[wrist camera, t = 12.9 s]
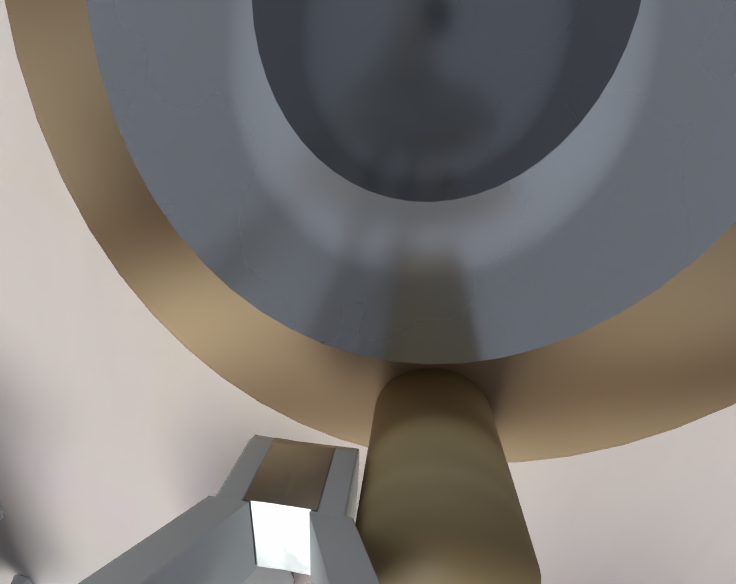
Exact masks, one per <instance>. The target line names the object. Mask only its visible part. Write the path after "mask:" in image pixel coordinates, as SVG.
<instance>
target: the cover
mask: <svg viewBox="0 0 736 584" xmlns="http://www.w3.org/2000/svg"><path fill="white" fill-rule="evenodd" d="M86 3H87V12H88V20H89V25H90V30H91V34H92V39H93V44H94V48H95V53H96V57H97V62H98V67H99V71H100V75H101V78H102V81H103V84H104V87H105V90H106V93H107V97H108V100H109V103H110V106H111V109H112V112H113V115H114V118H115V121H116V123H117V126H118V128H119V130H120V133H121V135H122V137H123V140H124V142H125V144H126V146H127V149H128V151H129V153H130V156H131V158H132V160H133V162H134V164H135V166H136V168H137V170H138V171H139V173H140V175H141V177H142V179H143V180H144V182H145V184H146V186H147V188H148V189H149V191H150V193H151V195H152V197H153V198H154V200H155V202H156V203H157V205H158V206H159V207H160V209H161V210H162V212H163V213H164V215H165V216H166V217H167V219H168V220H169V222H170V223H171V225H172V226H173V227H174V229H175V230H176V232H177V233H178V234H179V236H180V237H181V238H182V239H183V240H184V241H185V243H186V244H187V245H188V246H189V247H190V248H191V250H192V251H193V252H194V253H195V254H196V255H197V256H198V258H199V259H200V260H201V261H202V262H203V263H204V264H205V265H206V266H207V267H208V268H209V269H210V270H211V271H212V272H213V273H214V274H215V275H216V276H217V277H219V278H220V279H221V280H222V281H223V282H224V283H225V284H226V285H227V286H228V287H229V288H230V289H231V290H233V291H234V292H235V293H237V294H238V295H239V296H241V297H242V298H243V299H245V300H246V301H247V302H249V303H250V304H251V305H253V306H254V307H255V308H257V309H258V310H259V311H261V312H262V313H264V314H266V315H268V316H269V317H271V318H273V319H274V320H276V321H278V322H279V323H281V324H283V325H285V326H286V327H288V328H290V329H291V330H294V331H296V332H298V333H300V334H302V335H305V336H307V337H309V338H311V339H314V340H316V341H318V342H320V343H323V344H325V345H329V346H332V347H335V348H338V349H341V350H344V351H347V352H351V353H354V354H357V355H362V356H367V357H372V358H377V359H382V360H387V361H394V362H406V363H418V364H452V363H468V362H475V361H483V360H490V359H497V358H503V357H507V356H511V355H515V354H518V353H522V352H526V351H530V350H534V349H538V348H541V347H544V346H547V345H550V344H552V343H555V342H558V341H560V340H563V339H566V338H568V337H571V336H574V335H576V334H579V333H581V332H583V331H585V330H587V329H589V328H591V327H593V326H595V325H597V324H599V323H601V322H603V321H605V320H607V319H609V318H611V317H613V316H615V315H617V314H619V313H621V312H623V311H624V310H626V309H627V308H629V307H630V306H632V305H634V304H635V303H637V302H638V301H640V300H642V299H643V298H645V297H646V296H648V295H649V294H651V293H653V292H654V291H656V290H657V289H659V288H660V287H662V286H663V285H664V284H665V283H667V282H668V281H669V280H670V279H672V278H673V277H674V276H676V275H677V274H678V273H679V272H681V271H682V270H683V269H684V268H686V267H687V266H688V265H690V264H691V263H692V262H693V261H695V260H696V259H697V258H698V257H700V256H701V255H702V254H703V253H704V252H705V251H706V250H707V249H708V248H709V247H710V246H711V245H712V244H713V243H714V242H715V241H716V240H717V239H718V238H719V237H721V236H722V235H723V234H724V233H725V232H726V231H727V230H728V229H729V228H730V227H731V226H732V225H733V224H734V223H735V222H736V0H86Z"/></svg>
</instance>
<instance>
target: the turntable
mask: <svg viewBox="0 0 736 584" xmlns="http://www.w3.org/2000/svg"><path fill="white" fill-rule="evenodd" d="M5 4H6V8H7V13H8V18H9V22H10V27H11V31H12V36H13V40H14V45H15V50H16V54H17V58H18V61H19V64H20V67H21V70H22V73H23V77H24V80H25V83H26V86H27V89H28V92H29V96H30V99H31V102H32V105H33V108H34V111H35V114H36V118H37V121H38V123H39V125H40V128H41V130H42V132H43V135H44V137H45V140H46V142H47V144H48V147H49V149H50V151H51V154H52V156H53V159H54V161H55V163H56V166H57V168H58V170H59V173H60V175H61V177H62V179H63V181H64V183H65V185H66V187H67V189H68V191H69V192H70V194H71V196H72V198H73V200H74V202H75V204H76V205H77V207H78V209H79V211H80V213H81V215H82V217H83V218H84V220H85V222H86V224H87V226H88V228H89V230H90V231H91V233H92V234H93V235H94V237H95V238H96V240H97V241H98V243H99V244H100V246H101V247H102V249H103V250H104V252H105V253H106V255H107V256H108V258H109V259H110V261H111V262H112V264H113V265H114V267H115V268H116V270H117V271H118V273H119V274H120V276H121V277H122V278H123V279H124V280H125V282H126V283H127V284H128V285H129V287H130V288H131V289H132V290H133V291H134V293H135V294H136V295H137V296H138V297H139V299H140V300H141V301H142V302H143V304H144V305H145V306H146V307H147V308H148V310H149V311H150V312H151V313H152V314H153V315H154V316H155V317H156V318H157V319H158V320H159V321H160V322H161V323H162V324H163V325H164V326H165V327H166V328H167V329H168V330H169V331H170V332H171V333H172V334H173V335H174V336H175V337H176V338H177V339H178V340H179V341H180V342H181V343H182V344H183V345H184V346H185V347H186V348H187V349H188V350H189V351H190V352H192V353H193V354H194V355H195V356H197V357H198V358H199V359H200V360H201V361H203V362H204V363H205V364H206V365H208V366H209V367H210V368H211V369H212V370H214V371H215V372H216V373H217V374H219V375H220V376H221V377H222V378H224V379H225V380H227V381H228V382H230V383H231V384H233V385H234V386H236V387H237V388H239V389H240V390H242V391H244V392H245V393H247V394H248V395H250V396H251V397H253V398H254V399H256V400H257V401H259V402H260V403H262V404H264V405H266V406H268V407H270V408H272V409H274V410H276V411H277V412H279V413H281V414H283V415H285V416H287V417H289V418H291V419H293V420H295V421H297V422H298V423H301V424H303V425H306V426H308V427H311V428H313V429H316V430H318V431H321V432H323V433H326V434H328V435H331V436H333V437H336V438H338V439H341V440H345V441H348V442H352V443H355V444H359V445H362V446H366V447H368V452H367V458H366V464H365V470H364V476H363V482H362V488H361V494H360V500H359V506H358V512H357V518H356V524H355V525H356V527H357V530H358V532H359V535H360V537H361V539H362V542H363V544H364V547H365V549H366V552H367V554H368V556H369V559H370V561H371V564H372V566H373V569H374V571H375V573H376V576H377V578H378V581H379V583H380V584H541V573H540V568H539V565H538V562H537V558H536V555H535V552H534V548H533V545H532V542H531V539H530V535H529V532H528V529H527V526H526V522H525V519H524V516H523V513H522V509H521V506H520V503H519V500H518V496H517V493H516V490H515V486H514V483H513V480H512V477H511V473H510V470H509V467H508V464H507V462H525V461H534V460H542V459H551V458H560V457H568V456H574V455H578V454H583V453H588V452H593V451H597V450H602V449H607V448H611V447H616V446H621V445H624V444H628V443H631V442H634V441H637V440H640V439H644V438H647V437H650V436H653V435H656V434H660V433H663V432H666V431H669V430H672V429H676V428H678V427H681V426H683V425H685V424H688V423H690V422H693V421H695V420H697V419H700V418H702V417H705V416H707V415H709V414H712V413H714V412H717V411H719V410H721V409H724V408H726V407H729V406H731V405H733V404H735V403H736V222H735V223H734V224H733V225H732V226H731V227H730V228H729V229H728V230H727V231H726V232H725V233H724V234H723V235H722V236H721V237H719V238H718V239H717V240H716V241H715V242H714V243H713V244H712V245H711V246H710V247H709V248H708V249H707V250H706V251H705V252H704V253H703V254H702V255H701V256H700V257H698V258H697V259H696V260H695V261H693V262H692V263H691V264H690V265H688V266H687V267H686V268H684V269H683V270H682V271H681V272H679V273H678V274H677V275H676V276H674V277H673V278H672V279H670V280H669V281H668V282H667V283H665V284H664V285H663V286H662V287H660V288H659V289H657V290H656V291H654V292H653V293H651V294H649V295H648V296H646V297H645V298H643V299H642V300H640V301H638V302H637V303H635V304H634V305H632V306H630V307H629V308H627V309H626V310H624V311H623V312H621V313H619V314H617V315H615V316H613V317H611V318H609V319H607V320H605V321H603V322H601V323H599V324H597V325H595V326H593V327H591V328H589V329H587V330H585V331H583V332H581V333H579V334H576V335H574V336H571V337H568V338H566V339H563V340H560V341H558V342H555V343H552V344H550V345H547V346H544V347H541V348H538V349H534V350H530V351H526V352H522V353H518V354H515V355H511V356H507V357H503V358H497V359H490V360H483V361H475V362H468V363H452V364H418V363H406V362H394V361H387V360H382V359H377V358H372V357H367V356H362V355H357V354H354V353H351V352H347V351H344V350H341V349H338V348H335V347H332V346H329V345H325V344H323V343H320V342H318V341H316V340H314V339H311V338H309V337H307V336H305V335H302V334H300V333H298V332H296V331H294V330H291V329H290V328H288V327H286V326H285V325H283V324H281V323H279V322H278V321H276V320H274V319H273V318H271V317H269V316H268V315H266V314H264V313H262V312H261V311H259V310H258V309H257V308H255V307H254V306H253V305H251V304H250V303H249V302H247V301H246V300H245V299H243V298H242V297H241V296H239V295H238V294H237V293H235V292H234V291H233V290H231V289H230V288H229V287H228V286H227V285H226V284H225V283H224V282H223V281H222V280H221V279H220V278H219V277H217V276H216V275H215V274H214V273H213V272H212V271H211V270H210V269H209V268H208V267H207V266H206V265H205V264H204V263H203V262H202V261H201V260H200V259H199V258H198V256H197V255H196V254H195V253H194V252H193V251H192V250H191V248H190V247H189V246H188V245H187V244H186V243H185V241H184V240H183V239H182V238H181V237H180V236H179V234H178V233H177V232H176V230H175V229H174V227H173V226H172V225H171V223H170V222H169V220H168V219H167V217H166V216H165V215H164V213H163V212H162V210H161V209H160V207H159V206H158V205H157V203H156V202H155V200H154V198H153V197H152V195H151V193H150V191H149V189H148V188H147V186H146V184H145V182H144V180H143V179H142V177H141V175H140V173H139V171H138V170H137V168H136V166H135V164H134V162H133V160H132V158H131V156H130V153H129V151H128V149H127V146H126V144H125V142H124V140H123V137H122V135H121V133H120V130H119V128H118V126H117V123H116V121H115V118H114V115H113V112H112V109H111V106H110V103H109V100H108V97H107V93H106V90H105V87H104V84H103V81H102V78H101V75H100V71H99V67H98V62H97V57H96V53H95V48H94V44H93V39H92V34H91V30H90V25H89V20H88V12H87V3H86V0H5Z"/></svg>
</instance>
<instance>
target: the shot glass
mask: <svg viewBox="0 0 736 584" xmlns="http://www.w3.org/2000/svg"><path fill="white" fill-rule="evenodd" d="M242 584H294V578H293V576H292V574H291V572H290V571H287V570H282V569H274V568H267V567H260V566H256V569H255V571H254V572H253V573H252V574H251V575H250V576H249V577H248V578H247V579H246V580H245V581H244V582H243V583H242Z"/></svg>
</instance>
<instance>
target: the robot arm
mask: <svg viewBox="0 0 736 584" xmlns="http://www.w3.org/2000/svg"><path fill="white" fill-rule="evenodd" d="M358 470H359V449H356V448H348V447H339V446H331V445H323V444H314V443H306V442H298V441H292V440H286V439H280V438H270V437H264V436H258V435H255V436H254V437H253V438H252V439H250V440H249V442H248V444H247V445H246V447H245V449H244V450H243V452H242V454H241V455H240V457H239V459H238V460H237V462H236V464H235V465H234V467H233V469H232V470H231V472H230V474H229V476H228V477H227V479H226V481H225V482H224V484H223V486H222V487H221V489H220V491H219V492H218V494H217V496H216V497H215V496H208V497H207V498H205V499H204V500H202V501H201V502H199V503H198V504H196V505H195V506H193V507H192V508H190V509H189V510H187V511H186V512H184V513H183V514H181V515H180V516H178V517H177V518H175V519H174V520H172V521H171V522H169V523H168V524H166V525H165V526H163V527H162V528H160V529H159V530H157V531H156V532H154V533H153V534H151V535H150V536H148V537H147V538H145V539H144V540H142V541H141V542H139V543H138V544H136V545H135V546H133V547H132V548H131V549H129V550H128V551H126V552H125V553H123V554H122V555H120V556H119V557H117V558H116V559H114V560H113V561H111V562H110V563H108V564H107V565H105V566H104V567H102V568H101V569H99V570H98V571H96V572H95V573H93V574H92V575H90V576H89V577H87V578H86V579H84V580H83V581H81V582H80V583H78V584H242V583H243V582H244V581H245V580H246V579H247V578H248V577H249V576H250V575H251V574H252V573H253V572H254V571H255V569H256V566H260V567H267V568H274V569H282V570H287V571H292V572H297V573H302V574H307V575H311V582H312V584H380V583H379V581H378V578H377V576H376V573H375V571H374V569H373V566H372V564H371V561H370V559H369V556H368V554H367V552H366V549H365V547H364V544H363V542H362V539H361V537H360V535H359V532H358V530H357V527H356V525H355V522H354V516H355V508H356V498H357V488H358Z"/></svg>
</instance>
